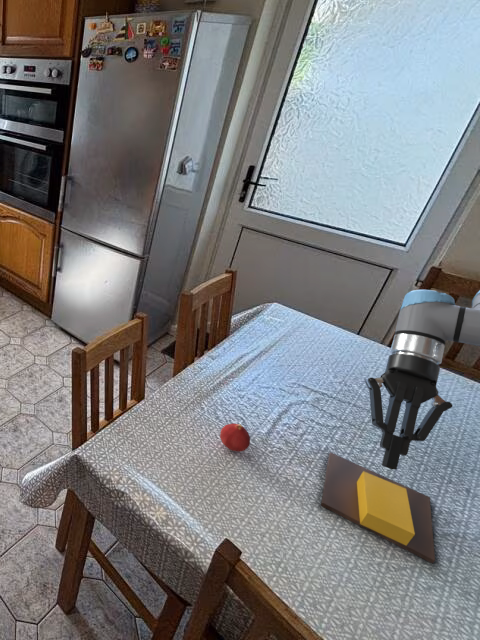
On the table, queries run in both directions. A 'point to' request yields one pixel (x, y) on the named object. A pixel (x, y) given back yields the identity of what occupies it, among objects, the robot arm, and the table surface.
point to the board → (344, 502)
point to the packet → (384, 508)
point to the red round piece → (235, 437)
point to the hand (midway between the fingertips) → (389, 467)
